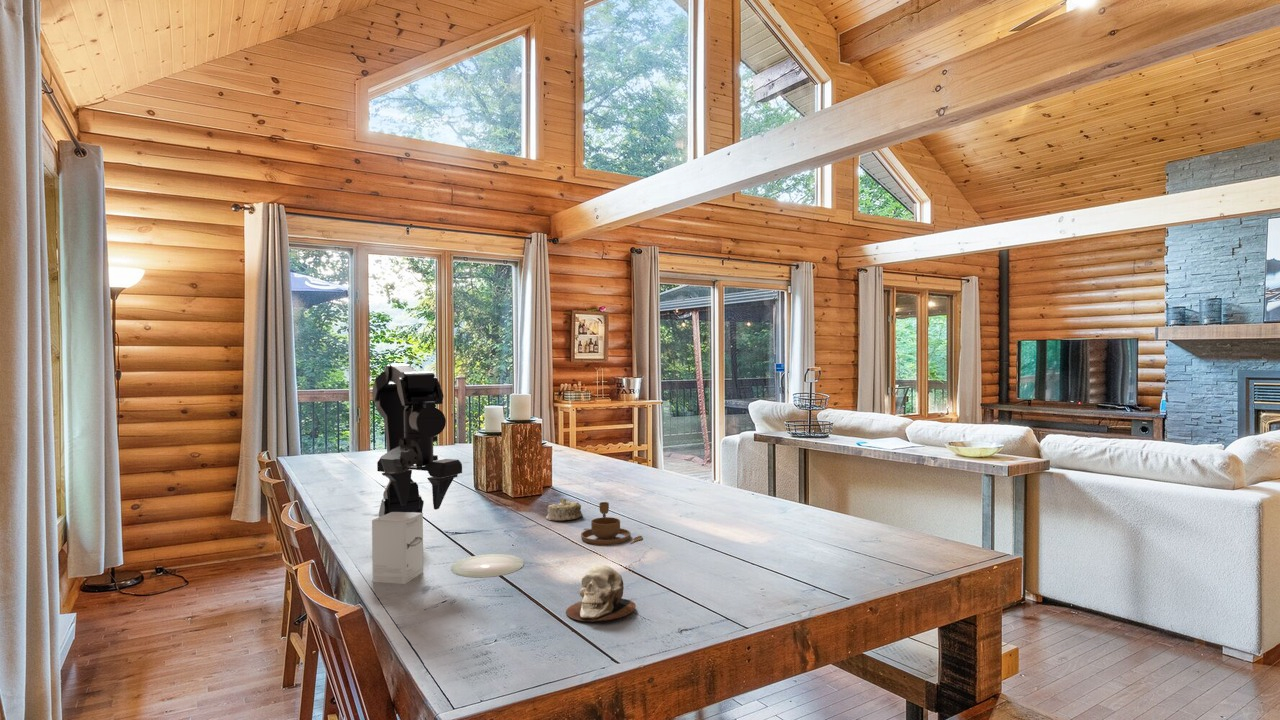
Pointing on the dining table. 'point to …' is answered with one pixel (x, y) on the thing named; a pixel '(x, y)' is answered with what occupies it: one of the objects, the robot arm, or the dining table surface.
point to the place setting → (606, 529)
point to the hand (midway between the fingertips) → (419, 507)
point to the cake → (564, 511)
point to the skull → (601, 596)
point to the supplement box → (397, 547)
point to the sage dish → (487, 565)
